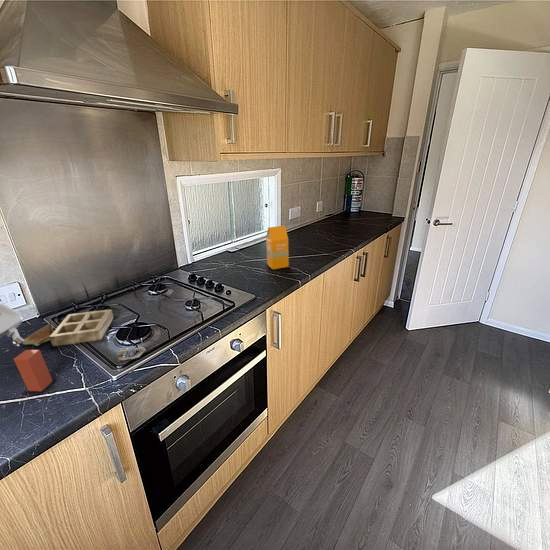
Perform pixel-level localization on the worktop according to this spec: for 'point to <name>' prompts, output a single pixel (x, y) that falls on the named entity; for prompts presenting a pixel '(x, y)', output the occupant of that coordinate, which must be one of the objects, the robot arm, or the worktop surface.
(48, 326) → the shard
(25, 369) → the peg
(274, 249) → the orange juice
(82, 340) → the four-pane grid frame
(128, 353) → the grey flat piece
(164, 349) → the worktop surface
